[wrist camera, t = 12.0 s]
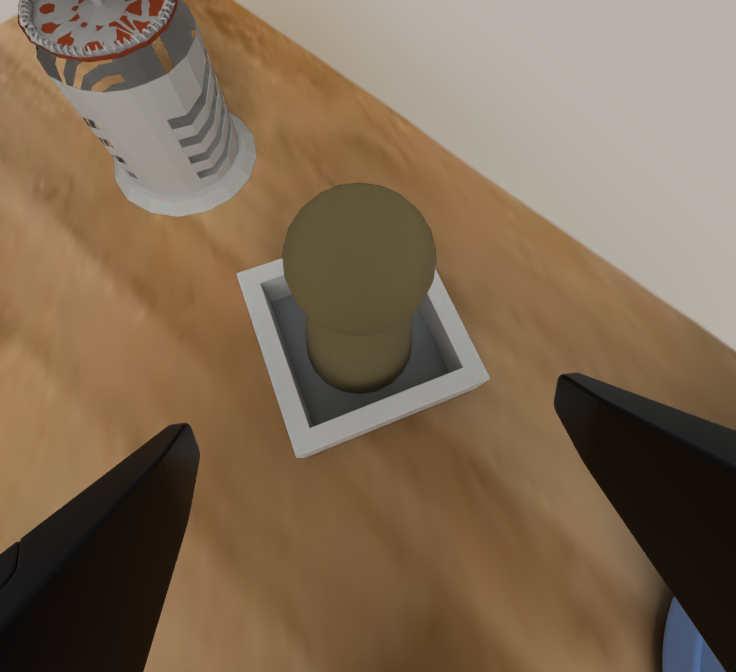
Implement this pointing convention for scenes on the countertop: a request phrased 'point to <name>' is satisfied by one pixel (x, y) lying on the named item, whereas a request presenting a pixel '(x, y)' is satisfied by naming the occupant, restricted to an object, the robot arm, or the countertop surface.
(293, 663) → the countertop surface
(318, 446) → the grey square open box
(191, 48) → the french press
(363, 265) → the cork
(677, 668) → the water jug
